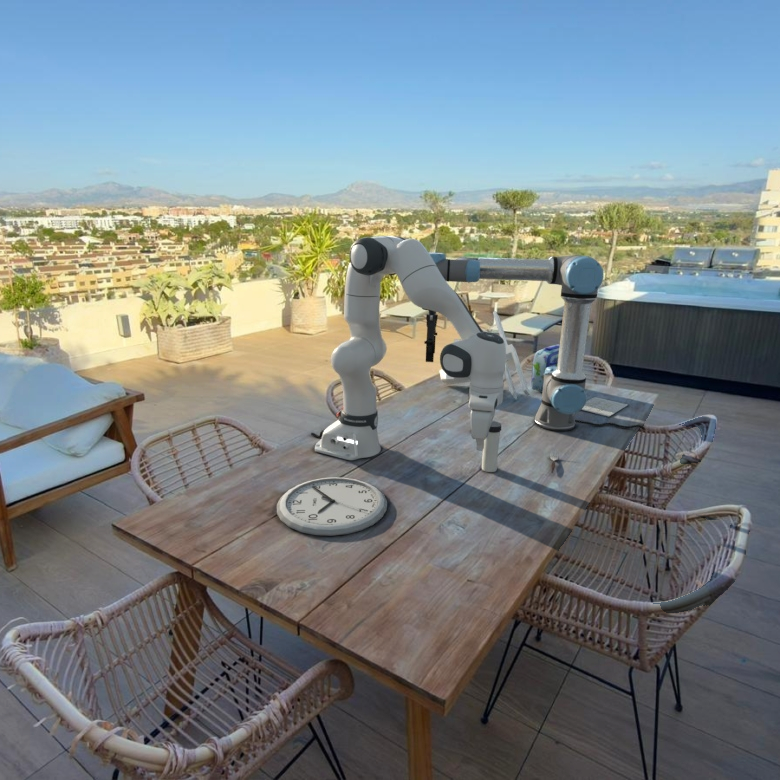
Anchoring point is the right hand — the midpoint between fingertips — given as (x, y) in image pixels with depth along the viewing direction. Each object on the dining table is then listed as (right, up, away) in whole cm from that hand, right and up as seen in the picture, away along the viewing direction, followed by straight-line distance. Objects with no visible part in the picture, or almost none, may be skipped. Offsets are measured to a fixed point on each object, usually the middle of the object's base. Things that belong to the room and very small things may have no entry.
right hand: (430, 357), depth 190 cm
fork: (+38, -36, -20) cm, 56 cm away
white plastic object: (+27, -13, +54) cm, 61 cm away
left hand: (+11, -26, -47) cm, 55 cm away
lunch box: (+63, -12, +60) cm, 88 cm away
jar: (+17, -37, -23) cm, 47 cm away
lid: (+17, -23, -28) cm, 40 cm away
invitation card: (+77, -19, +37) cm, 87 cm away
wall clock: (-30, -43, -47) cm, 71 cm away
